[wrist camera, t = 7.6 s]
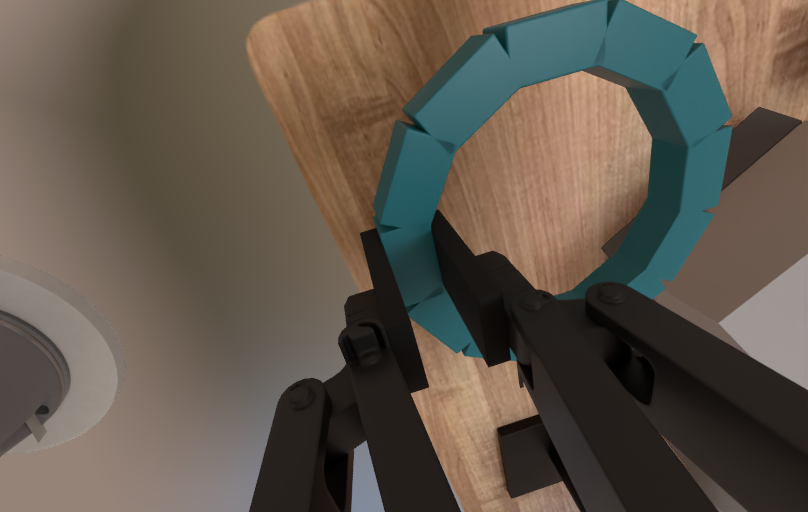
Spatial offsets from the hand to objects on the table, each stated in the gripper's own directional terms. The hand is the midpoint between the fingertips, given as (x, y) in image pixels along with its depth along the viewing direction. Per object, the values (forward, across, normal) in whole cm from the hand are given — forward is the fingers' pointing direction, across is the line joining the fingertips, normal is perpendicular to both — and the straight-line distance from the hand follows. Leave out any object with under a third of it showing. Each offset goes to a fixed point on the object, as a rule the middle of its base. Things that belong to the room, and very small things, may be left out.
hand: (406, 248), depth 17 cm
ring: (0, +6, 0) cm, 7 cm away
